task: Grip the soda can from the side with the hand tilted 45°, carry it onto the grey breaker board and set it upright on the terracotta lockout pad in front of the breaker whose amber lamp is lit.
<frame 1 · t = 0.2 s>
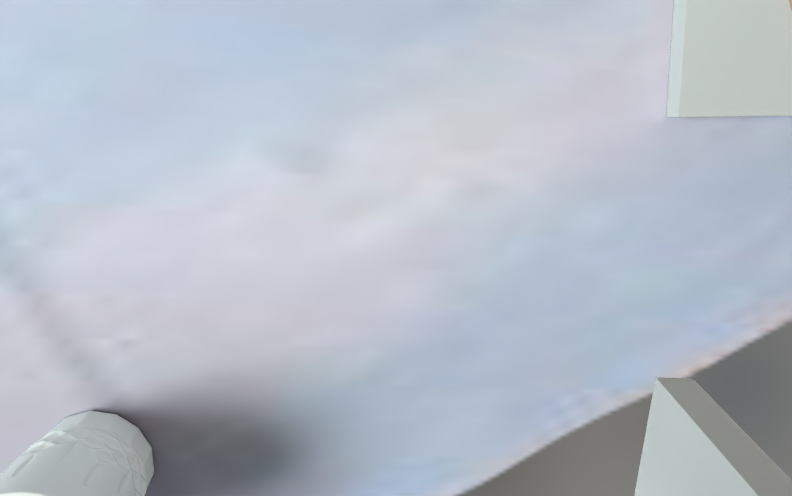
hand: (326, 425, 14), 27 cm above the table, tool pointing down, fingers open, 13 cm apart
white cup: (98, 460, 42), on the table
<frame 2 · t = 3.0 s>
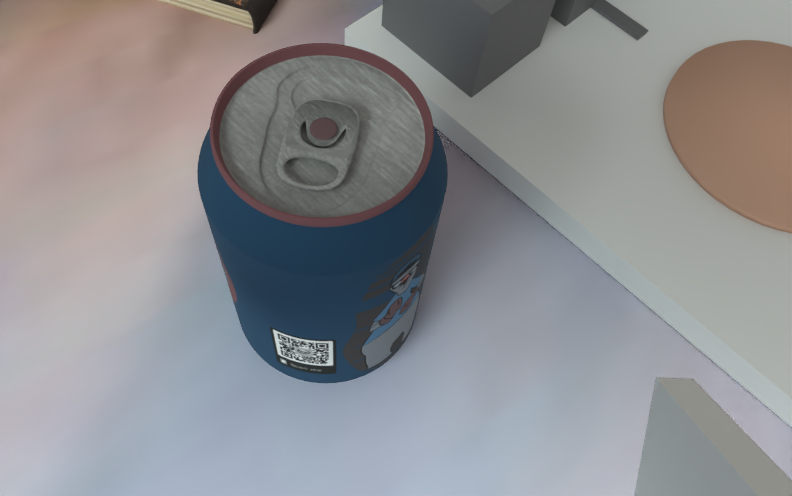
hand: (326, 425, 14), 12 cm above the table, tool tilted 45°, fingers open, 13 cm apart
soda can: (328, 312, 29), on the table
breaker board: (678, 92, 35), on the table
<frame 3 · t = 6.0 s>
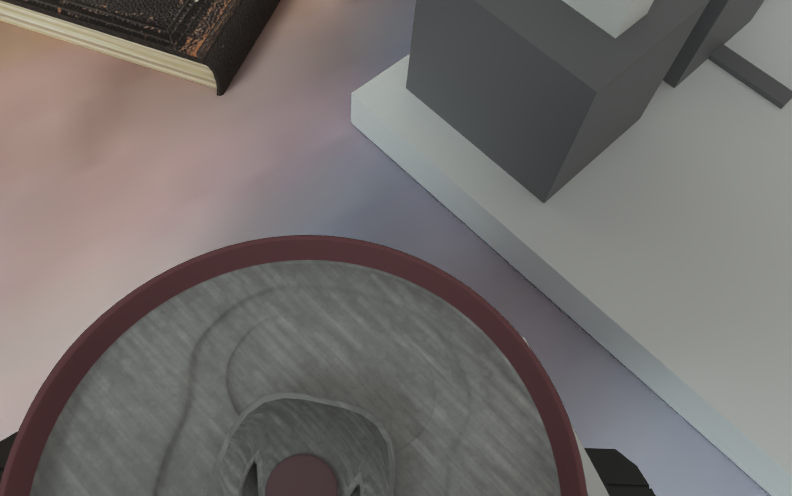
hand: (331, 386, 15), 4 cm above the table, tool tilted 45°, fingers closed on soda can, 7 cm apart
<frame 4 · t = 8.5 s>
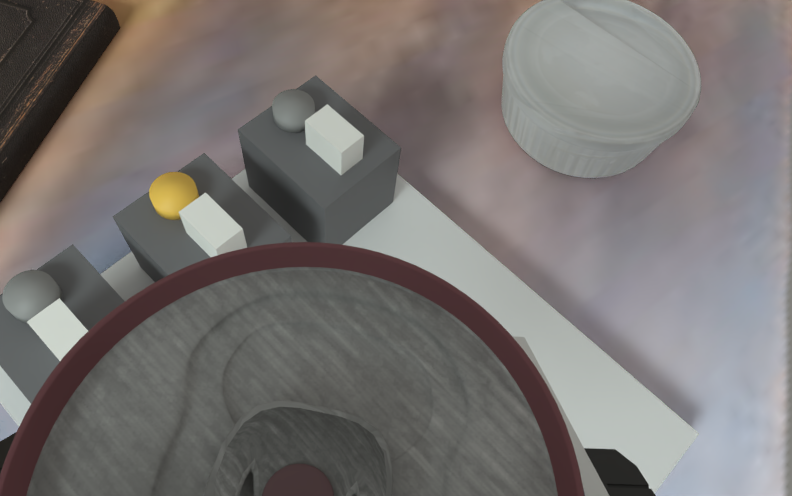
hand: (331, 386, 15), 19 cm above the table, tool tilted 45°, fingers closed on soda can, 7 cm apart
ramekin: (574, 121, 44), on the table
breaker board: (342, 409, 34), on the table
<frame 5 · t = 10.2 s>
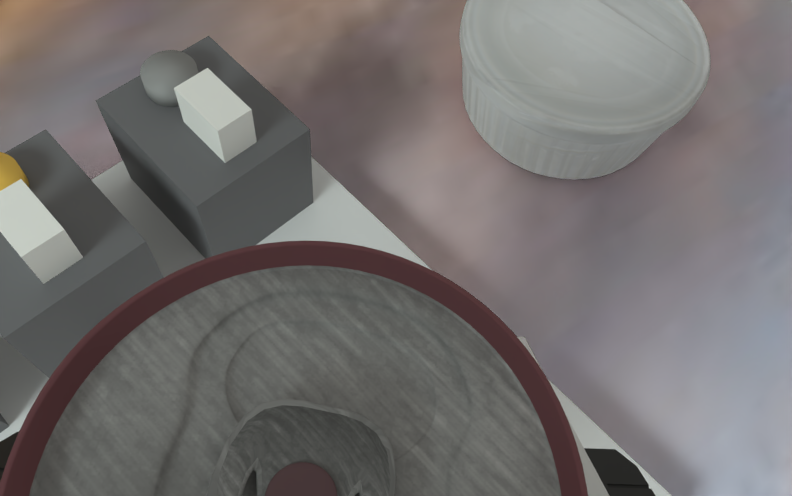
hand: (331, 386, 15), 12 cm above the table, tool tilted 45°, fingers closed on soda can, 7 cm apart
ramekin: (554, 111, 36), on the table
breaker board: (225, 472, 26), on the table
when the fingers open (7 cm above the table, at t = 11.5 s): soda can stays where it is, resting on breaker board.
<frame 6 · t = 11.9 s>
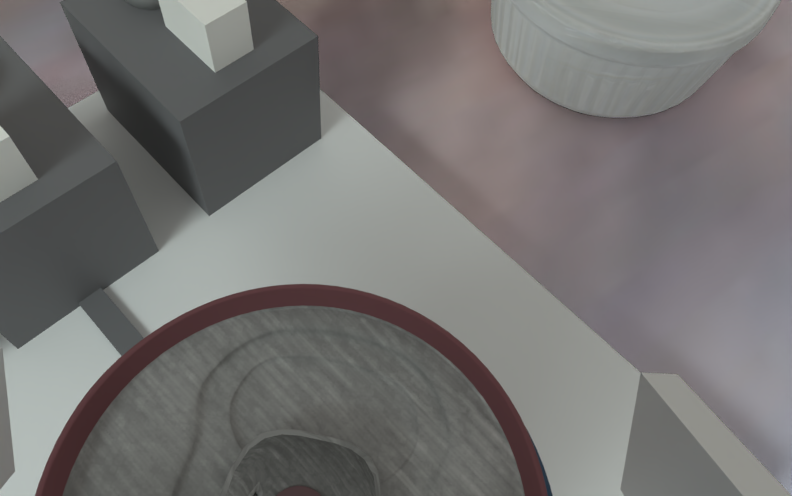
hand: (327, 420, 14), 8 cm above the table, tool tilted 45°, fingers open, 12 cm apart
ramekin: (594, 45, 31), on the table
breaker board: (217, 450, 21), on the table
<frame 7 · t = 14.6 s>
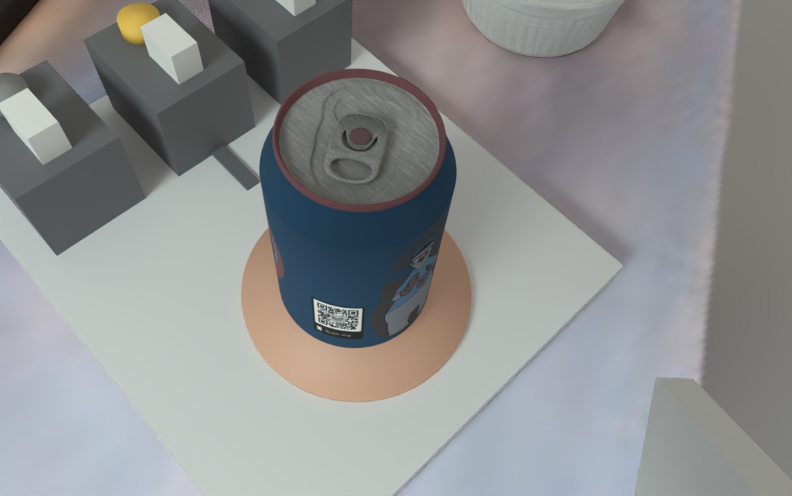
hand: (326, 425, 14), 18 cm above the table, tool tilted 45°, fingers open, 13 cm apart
soda can: (354, 291, 34), point 2 cm above the table, touching breaker board
ramekin: (531, 12, 47), on the table
breaker board: (292, 238, 37), on the table
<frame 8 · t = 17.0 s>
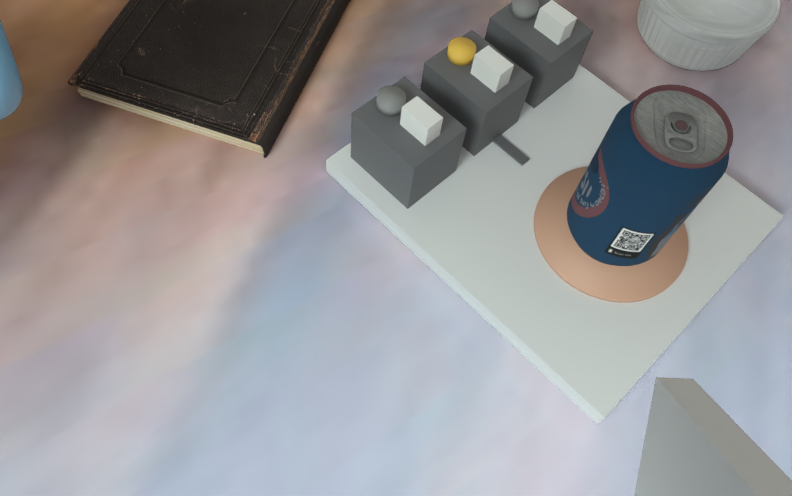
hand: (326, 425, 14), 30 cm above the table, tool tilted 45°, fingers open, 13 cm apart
soda can: (608, 232, 50), point 2 cm above the table, touching breaker board
ramekin: (686, 36, 63), on the table
breaker board: (550, 199, 53), on the table
hardcover book: (234, 32, 60), on the table
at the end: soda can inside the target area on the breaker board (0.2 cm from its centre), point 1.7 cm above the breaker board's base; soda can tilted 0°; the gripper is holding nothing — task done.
